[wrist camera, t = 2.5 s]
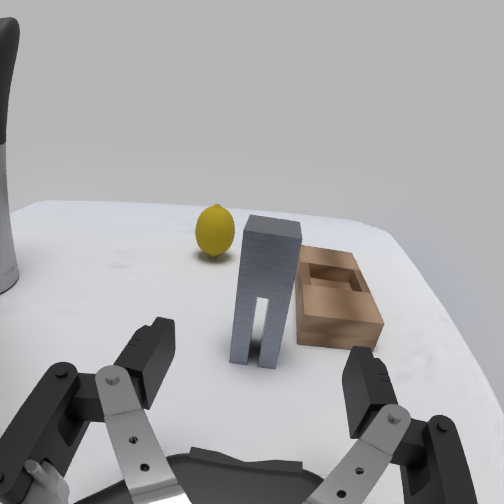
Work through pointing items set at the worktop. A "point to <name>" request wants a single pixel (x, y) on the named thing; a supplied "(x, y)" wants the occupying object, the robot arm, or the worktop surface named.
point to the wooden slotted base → (334, 301)
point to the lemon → (215, 230)
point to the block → (265, 285)
